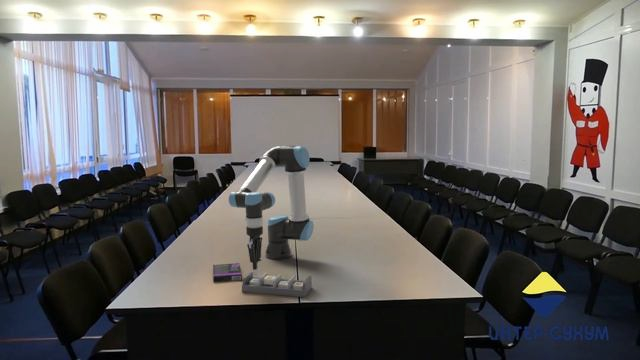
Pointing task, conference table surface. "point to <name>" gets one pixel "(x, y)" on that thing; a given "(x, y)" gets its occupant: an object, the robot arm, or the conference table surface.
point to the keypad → (276, 286)
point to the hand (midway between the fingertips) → (256, 275)
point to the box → (226, 272)
